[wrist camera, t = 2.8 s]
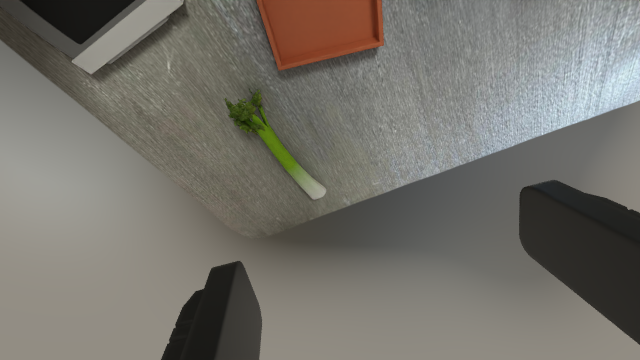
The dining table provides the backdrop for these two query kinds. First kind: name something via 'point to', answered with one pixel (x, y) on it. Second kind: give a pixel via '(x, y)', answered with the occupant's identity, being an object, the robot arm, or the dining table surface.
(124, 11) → the alarm clock
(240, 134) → the dining table surface
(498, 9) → the dining table surface
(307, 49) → the terracotta tray
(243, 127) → the celery stalk
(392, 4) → the dining table surface
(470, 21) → the dining table surface
